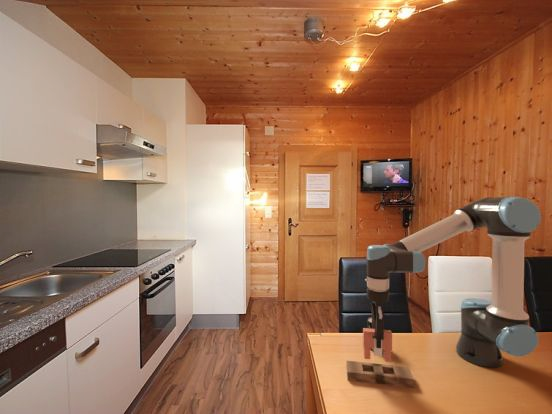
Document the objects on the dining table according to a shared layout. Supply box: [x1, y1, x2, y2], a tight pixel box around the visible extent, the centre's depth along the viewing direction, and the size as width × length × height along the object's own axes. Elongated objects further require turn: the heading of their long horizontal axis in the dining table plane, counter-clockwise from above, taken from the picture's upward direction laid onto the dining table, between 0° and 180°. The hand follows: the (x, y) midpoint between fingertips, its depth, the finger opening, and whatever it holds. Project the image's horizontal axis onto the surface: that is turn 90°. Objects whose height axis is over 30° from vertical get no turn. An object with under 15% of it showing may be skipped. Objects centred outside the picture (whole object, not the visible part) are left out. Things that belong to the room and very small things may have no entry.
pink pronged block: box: [362, 327, 393, 363], centre depth 98 cm, size 10×3×10 cm, turn 78°
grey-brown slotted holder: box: [346, 360, 415, 388], centre depth 98 cm, size 22×7×3 cm, turn 78°
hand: (377, 352), depth 98 cm, fingers closed on pink pronged block, 3 cm apart
